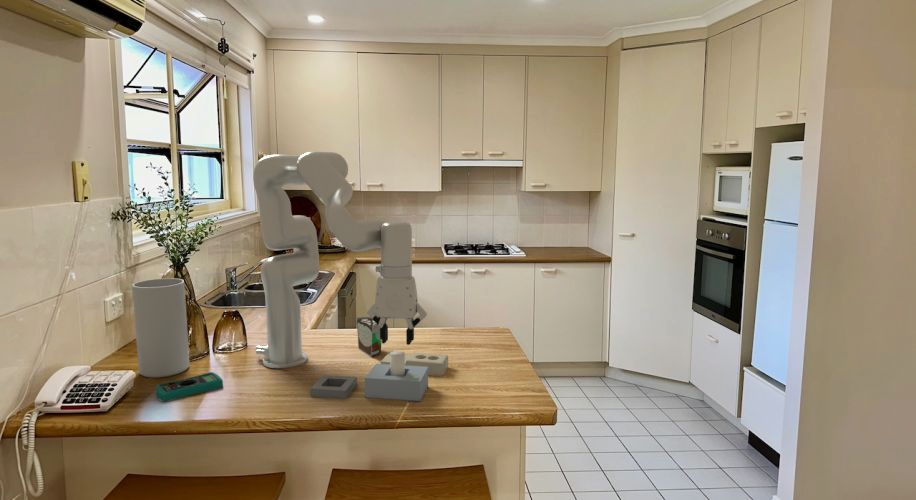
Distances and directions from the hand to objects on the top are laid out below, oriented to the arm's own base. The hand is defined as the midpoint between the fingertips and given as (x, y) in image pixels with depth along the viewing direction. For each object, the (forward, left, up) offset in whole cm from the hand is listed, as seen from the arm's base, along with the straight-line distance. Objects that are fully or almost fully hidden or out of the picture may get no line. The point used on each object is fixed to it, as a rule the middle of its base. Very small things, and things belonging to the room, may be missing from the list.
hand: (397, 341), depth 139 cm
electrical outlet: (+1, +17, -14) cm, 22 cm away
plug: (0, 0, -13) cm, 13 cm away
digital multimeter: (-53, -7, -14) cm, 55 cm away
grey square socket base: (-16, -2, -14) cm, 21 cm away
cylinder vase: (-68, +5, -14) cm, 70 cm away
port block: (0, 0, -14) cm, 14 cm away
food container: (-15, +30, -14) cm, 36 cm away
